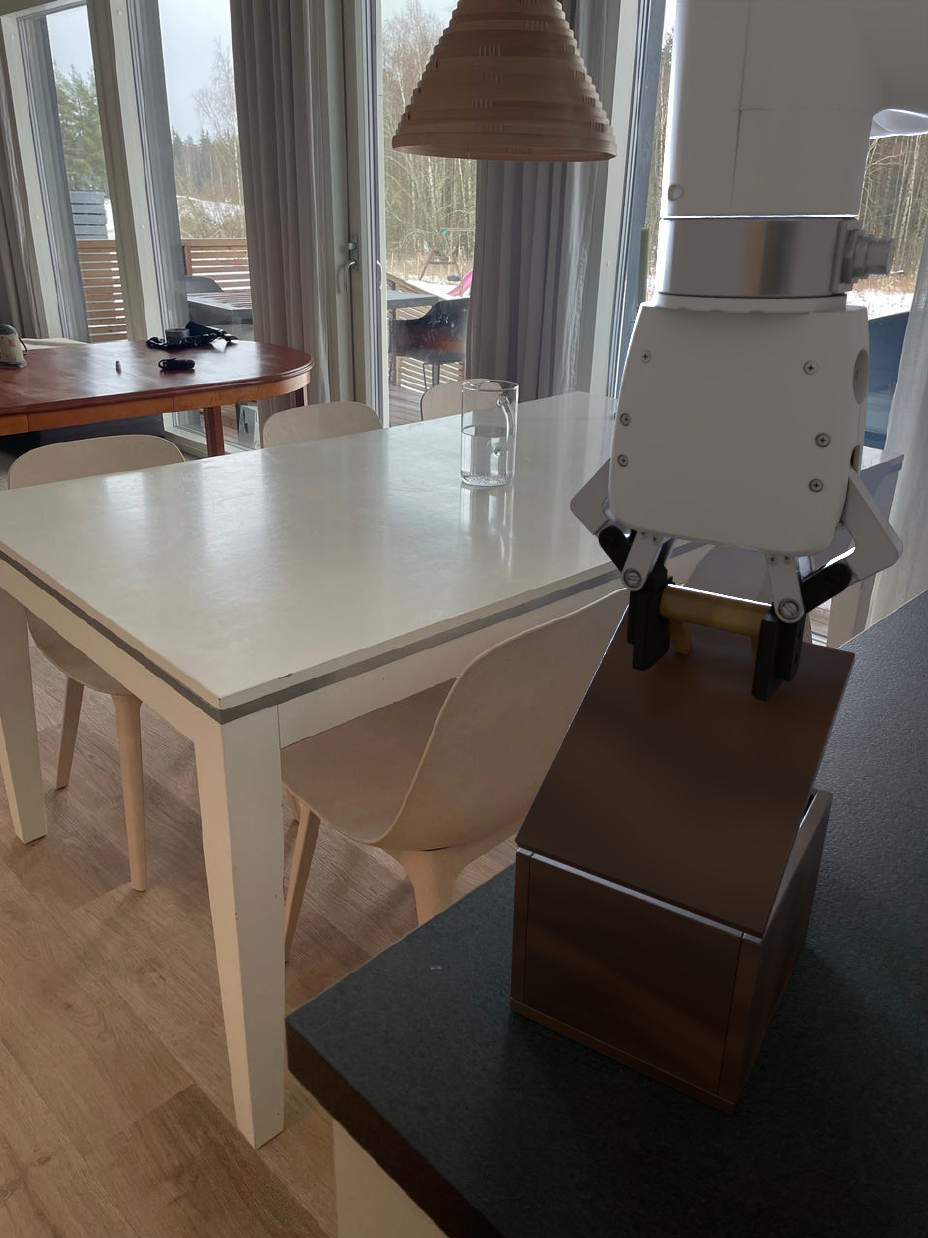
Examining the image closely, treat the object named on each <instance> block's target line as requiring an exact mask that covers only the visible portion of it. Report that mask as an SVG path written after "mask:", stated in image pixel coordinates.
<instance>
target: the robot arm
mask: <svg viewBox="0 0 928 1238" xmlns="http://www.w3.org/2000/svg"><path fill="white" fill-rule="evenodd" d="M674 2H675V3H674V4H675V5H674V20H673V32H672V33H673V34H672V49H671V63H670V77H669V88H668V89H669V91H668V103H667V104H668V105H667V116H666V117H667V119H666V131H665V132H666V134H665V144H664V145H665V148H664V160H663V174H662V188H661V190H662V191H661V201H660V202H661V203H660V215H659V216H660V218H661V219H660V221H659V228H658V229H659V230H658V243H657V244H658V245H657V257H656V271H655V272H656V273H655V285H654V287H655V288H654V290H655V292H654V299H653V300H650V301H646V302H645V301H644V302H641V303H640V305H639V308H638V312H637V315H636V318H635V322H634V325H633V329H632V333H631V337H630V340H629V344H628V349H627V352H626V356H625V360H624V361H625V362H624V367H623V371H622V375H621V380H620V386H619V390H618V391H619V392H618V396H617V397H618V398H617V404H616V409H615V417H614V424H613V432H612V440H611V449H610V456H609V458H608V459H607V460H606V461H605V462H604V464H602V465H601V467H600V468H599V469H598V470H597V471H596V472H595V473H594V475H593V476H592V477H591V478H590V479H589V480H588V481H587V482H586V483H585V484H584V485H583V486H582V487H581V489H580V490H579V491H578V492H577V493H576V494H575V495H574V496H573V497H572V498H571V501H570V502H569V508H570V511H571V513H572V514H573V515H574V516H575V517H576V518H577V519H578V521H580V523H581V524H582V525H583V526H584V527H585V528H586V529H587V530H588V532H589V533H591V535H592V536H595V537H596V538H597V539H598V544H599V546H600V548H601V549H602V550H603V552H604V553H605V554H606V555H607V556H608V558H609V560H611V562H612V564H613V565H614V566H615V567H616V568H617V570H618V571H619V572H620V581H621V584H622V586H623V587H624V588H625V589H626V590H627V591H629V601H628V605H629V614H628V629H627V642H628V644H632V645H634V649H633V663H632V667H633V669H636V670H640V671H645V670H646V669H647V670H649V669H650V668H651V667H652V666H653V665H654V664H655V663H656V662H657V661H658V660H660V659H661V658H662V657H663V656H664V655H665V654H666V653H667V652H668V650H669V647H670V639H671V629H670V624H669V619H668V618H665V617H662V616H661V615H660V611H659V606H660V599H661V596H662V593H663V591H664V589H665V587H666V586H667V585H675V586H676V582H675V581H674V576H673V575H668V572H669V570H668V569H667V566H668V562H669V561H670V558H671V556H672V554H673V551H674V549H675V546H676V545H677V542H678V540H683V541H689V542H694V543H700V544H706V545H712V546H716V547H717V546H718V547H722V548H729V549H735V550H740V551H741V550H742V551H747V552H753V553H760V554H764V559H765V564H766V570H767V575H768V581H769V587H770V592H771V596H772V602H771V604H770V605H771V610H770V611H769V612H768V613H767V615H766V616H765V617H764V618H763V619H762V621H761V624H760V630H759V638H758V645H757V653H756V661H755V669H754V677H753V685H752V693H751V694H752V696H755V699H756V700H760V701H764V702H768V701H769V699H770V698H771V697H772V695H773V694H774V692H775V691H776V690H777V688H778V687H779V686H780V684H781V683H782V682H783V680H785V681H789V682H791V681H792V680H793V679H794V677H795V675H796V673H797V670H798V666H799V661H800V654H801V647H802V641H803V642H804V633H805V626H806V621H807V620H806V619H807V615H808V613H810V612H812V611H814V610H816V608H818V607H819V606H822V605H823V604H824V603H826V602H828V601H829V600H831V599H833V598H834V597H836V596H837V595H839V594H841V593H842V592H843V591H845V590H846V589H847V588H849V587H851V586H853V585H855V584H857V583H860V582H862V581H865V580H866V579H868V578H871V577H872V576H874V575H876V574H879V573H880V572H883V571H885V570H887V569H888V568H890V567H892V566H894V565H895V564H896V563H897V562H898V560H899V559H900V557H901V556H902V554H903V552H904V547H905V545H904V543H903V541H902V540H901V538H900V536H899V535H898V533H897V532H896V530H895V528H894V527H893V526H892V525H891V523H890V521H889V520H888V518H887V517H886V515H885V514H884V512H883V511H882V509H881V507H880V506H879V504H878V503H877V501H876V500H875V498H874V496H873V495H872V494H871V492H870V491H869V488H868V487H867V486H866V485H865V482H864V481H863V480H862V478H861V474H862V473H861V472H862V463H863V454H864V444H865V435H866V434H865V433H866V424H867V413H868V399H869V398H868V397H869V396H868V395H869V380H870V379H869V377H870V328H869V327H870V326H869V313H868V307H867V306H863V305H852V304H847V300H848V294H847V293H848V292H852V291H853V290H854V285H855V284H858V283H859V280H867V279H869V276H877V277H879V276H880V277H881V276H882V277H884V276H885V277H887V276H889V275H890V273H891V270H892V268H893V267H892V266H893V263H894V259H895V252H896V251H895V250H896V241H895V238H894V237H875V234H873V233H866V229H862V227H863V220H862V219H857V218H856V217H857V216H859V215H860V209H861V207H860V206H861V200H862V193H863V188H864V181H865V174H866V167H867V160H868V152H869V146H870V140H873V139H881V138H888V137H896V136H897V137H898V136H905V137H907V136H919V135H928V0H675V1H674ZM845 529H846V530H847V532H848V533H849V535H850V536H851V538H852V539H853V542H854V547H853V548H851V549H849V550H848V551H846V552H845V553H842V554H840V555H836V556H834V557H832V558H831V559H829V560H828V561H826V562H824V563H823V564H822V565H820V566H819V567H817V568H816V563H815V559H814V556H815V555H818V554H821V553H823V552H824V551H826V550H827V549H828V548H829V547H830V545H831V544H832V542H833V539H834V536H835V534H836V533H838V532H842V531H843V530H845Z"/></svg>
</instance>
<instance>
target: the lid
mask: <svg viewBox="0 0 928 1238" xmlns="http://www.w3.org/2000/svg"><path fill="white" fill-rule="evenodd" d="M770 610H771V604H768V603H764V602H760V601H759V602H758V601H753V600H749V599H743V598H738V597H734V596H730V595H729V596H728V595H724V594H719V593H715V592H709V591H704V590H699V589H695V588H690V587H684V586H679V585H676V584H675V585H667V586H666V587H665V589H664V591H663V593H662V596H661V599H660V606H659V611H660V615H661V616H662V617H665V618H668V619H669V624H670V629H671V639H670V647H669V650H668V652H667V653H666V654H665V655H664V656H663V657H662V658H661V659H660V660H658V661H657V662H656V663H655V664H654V665H653V666H652V667H651V668H650V669H649V670H647V669H646V670H645V671H640V670H636V669H633V667H632V663H633V649H634V645H632V644H628V642H627V629H628V614H629V604H628V605H627V607H626V609H625V610H624V613H623V615H622V618H621V619H620V620H619V623H618V625H617V627H616V630H615V632H614V634H613V636H612V638H611V640H610V642H609V644H608V646H607V649H606V650H605V652H604V654H603V656H602V659H601V661H600V663H599V665H598V666H597V669H596V671H595V673H594V674H593V677H592V679H591V682H590V683H589V686H588V687H587V690H586V691H585V694H584V696H583V698H582V699H581V702H580V704H579V706H578V708H577V709H576V711H575V714H574V715H573V718H572V720H571V723H570V724H569V726H568V729H567V730H566V732H565V734H564V736H563V739H562V740H561V743H560V745H559V747H558V750H557V751H556V753H555V755H554V757H553V759H552V762H551V763H550V765H549V768H548V770H547V771H546V774H545V776H544V778H543V780H542V782H541V784H540V786H539V789H538V790H537V793H536V794H535V796H534V799H533V800H532V803H531V804H530V807H529V809H528V811H527V813H526V816H524V819H523V821H522V823H521V826H520V827H519V830H518V831H517V833H516V835H515V838H514V842H515V844H516V846H517V847H518V848H523V849H525V850H528V851H530V852H533V853H536V854H538V855H541V856H544V857H546V858H549V859H551V860H554V861H557V862H559V863H562V864H565V865H567V866H570V867H573V868H575V869H578V870H580V871H583V872H586V873H588V874H591V875H594V876H596V877H599V878H602V879H604V880H607V881H609V882H612V883H615V884H617V885H620V886H623V887H625V888H628V889H630V890H633V891H636V892H638V893H641V894H644V895H646V896H649V897H652V898H654V899H657V900H659V901H662V902H665V903H667V904H670V905H673V906H675V907H678V908H681V909H683V910H686V911H688V912H691V913H694V914H696V915H699V916H702V917H704V918H707V919H709V920H712V921H715V922H717V923H720V924H723V925H725V926H728V927H731V928H733V929H736V930H738V931H741V932H744V933H746V934H749V935H752V936H754V937H757V938H760V939H762V938H763V936H764V933H765V930H766V927H767V924H768V921H769V918H770V915H771V912H772V909H773V906H774V903H775V900H776V897H777V894H778V891H779V888H780V885H781V882H782V879H783V876H784V873H785V870H786V867H787V864H788V861H789V858H790V855H791V852H792V849H793V846H794V843H795V840H796V837H797V834H798V831H799V828H800V825H801V822H802V819H803V816H804V813H805V810H806V807H807V804H808V801H809V798H810V795H811V792H812V789H813V788H814V786H815V783H816V779H817V777H818V773H819V770H820V769H821V768H820V767H821V764H822V762H823V759H824V755H825V754H826V753H825V752H826V750H827V746H828V743H829V740H830V737H831V735H832V733H833V729H834V725H835V723H836V720H837V717H838V713H839V711H840V707H841V705H842V701H843V699H844V695H845V692H846V689H847V686H848V684H849V681H850V677H851V674H852V672H853V669H854V666H855V662H856V653H855V652H852V651H848V650H844V649H839V648H834V647H830V646H825V645H821V644H817V643H812V642H808V641H804V640H803V641H802V647H801V654H800V661H799V666H798V670H797V673H796V675H795V677H794V679H793V680H792V681H791V682H789V681H785V680H783V682H782V683H781V684H780V686H779V687H778V688H777V690H776V691H775V692H774V694H773V695H772V697H771V698H770V699H769V701H768V702H764V701H760V700H756V699H755V696H752V694H751V693H752V685H753V677H754V669H755V661H756V653H757V645H758V638H759V630H760V624H761V621H762V619H763V618H764V617H765V616H766V615H767V613H768V612H769V611H770Z"/></svg>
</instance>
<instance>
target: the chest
mask: <svg viewBox="0 0 928 1238" xmlns="http://www.w3.org/2000/svg"><path fill="white" fill-rule="evenodd" d="M833 799H834V793H832V792H829V791H825V790H822V789H818V788H816V787H813V789H812V792H811V795H810V798H809V801H808V804H807V807H806V810H805V813H804V816H803V819H802V822H801V825H800V828H799V831H798V834H797V837H796V840H795V843H794V846H793V849H792V852H791V855H790V858H789V861H788V864H787V867H786V870H785V873H784V876H783V879H782V882H781V885H780V888H779V891H778V894H777V897H776V900H775V903H774V906H773V909H772V912H771V915H770V918H769V921H768V924H767V927H766V930H765V933H764V936H763V938H762V939H760V938H757V937H754V936H752V935H749V934H746V933H744V932H741V931H738V930H736V929H733V928H731V927H728V926H725V925H723V924H720V923H717V922H715V921H712V920H709V919H707V918H704V917H702V916H699V915H696V914H694V913H691V912H688V911H686V910H683V909H681V908H678V907H675V906H673V905H670V904H667V903H665V902H662V901H659V900H657V899H654V898H652V897H649V896H646V895H644V894H641V893H638V892H636V891H633V890H630V889H628V888H625V887H623V886H620V885H617V884H615V883H612V882H609V881H607V880H604V879H602V878H599V877H596V876H594V875H591V874H588V873H586V872H583V871H580V870H578V869H575V868H573V867H570V866H567V865H565V864H562V863H559V862H557V861H554V860H551V859H549V858H546V857H544V856H541V855H538V854H536V853H533V852H530V851H528V850H525V849H523V848H520V847H518V849H517V850H516V851H515V866H514V868H515V869H514V891H513V892H514V893H513V918H512V919H513V920H512V945H511V969H510V970H511V972H510V995H509V997H510V998H509V1010H510V1011H511V1012H513V1013H516V1014H517V1015H520V1016H523V1018H526V1019H528V1020H530V1021H532V1022H534V1023H536V1024H538V1025H541V1026H543V1027H545V1028H546V1029H549V1030H550V1031H552V1032H555V1033H557V1034H559V1035H562V1036H563V1037H566V1038H567V1039H570V1040H572V1041H574V1042H576V1043H578V1044H580V1045H583V1046H584V1047H586V1048H588V1049H591V1050H592V1051H595V1052H597V1053H599V1054H601V1055H603V1056H604V1057H607V1058H609V1059H611V1060H614V1061H615V1062H618V1063H620V1064H622V1065H624V1066H626V1067H628V1068H630V1069H632V1070H634V1071H636V1072H638V1073H641V1074H642V1075H644V1076H647V1077H648V1078H650V1079H653V1080H655V1081H657V1082H659V1083H661V1084H663V1085H666V1086H668V1087H669V1088H672V1089H673V1090H676V1091H678V1092H680V1093H682V1094H684V1095H686V1096H688V1097H690V1098H693V1099H695V1100H697V1101H699V1102H701V1103H703V1104H705V1105H707V1106H709V1107H711V1108H713V1109H715V1110H718V1111H719V1112H721V1113H724V1114H726V1115H728V1116H730V1117H732V1116H734V1113H735V1110H736V1108H737V1106H738V1103H739V1101H740V1098H741V1096H742V1094H743V1092H744V1089H745V1087H746V1085H747V1083H748V1080H749V1078H750V1075H751V1072H752V1070H753V1068H754V1065H755V1063H756V1061H757V1058H758V1056H759V1053H760V1051H761V1049H762V1046H763V1044H764V1042H765V1039H766V1036H767V1034H768V1033H769V1030H770V1028H771V1025H772V1022H773V1020H774V1018H775V1015H776V1013H777V1010H778V1009H779V1006H780V1003H781V1001H782V1000H783V999H782V998H783V996H784V994H785V991H786V989H787V986H788V984H789V982H790V979H791V977H792V975H793V973H794V970H795V967H796V965H797V963H798V961H799V958H800V956H801V953H802V951H803V948H804V946H805V943H806V942H807V937H808V930H809V925H810V921H811V915H812V910H813V905H814V899H815V894H816V889H817V883H818V878H819V874H820V873H819V872H820V868H821V863H822V862H821V861H822V857H823V851H824V848H825V847H824V846H825V841H826V837H827V830H828V825H829V820H830V816H831V815H830V814H831V809H832V804H833Z"/></svg>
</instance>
